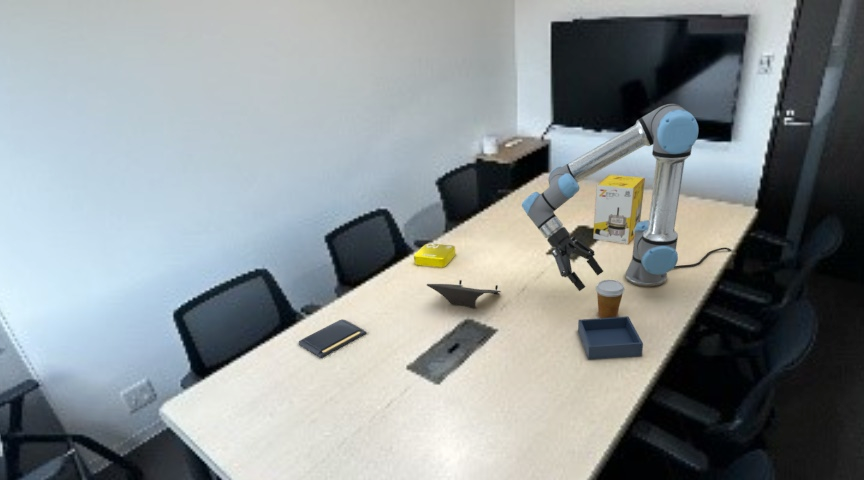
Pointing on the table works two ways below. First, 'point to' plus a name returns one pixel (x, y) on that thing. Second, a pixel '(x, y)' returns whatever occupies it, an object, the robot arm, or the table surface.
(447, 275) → the table surface
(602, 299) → the disposable coffee cup
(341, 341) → the wallet
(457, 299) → the dark gray curved stand
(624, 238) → the packaging box
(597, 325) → the bin
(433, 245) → the element tile
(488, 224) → the table surface
